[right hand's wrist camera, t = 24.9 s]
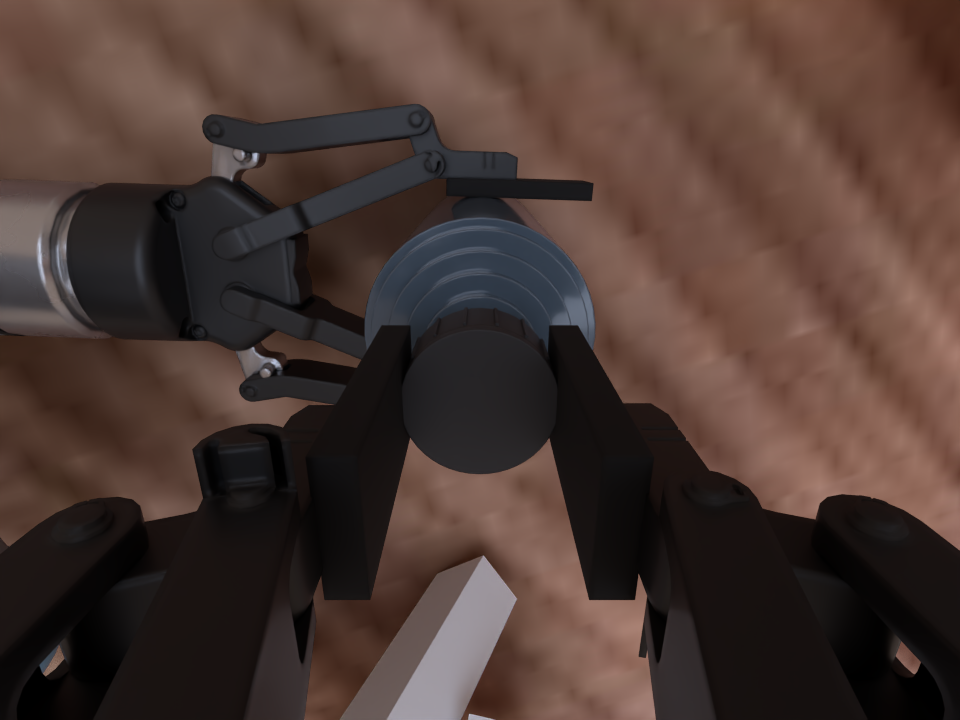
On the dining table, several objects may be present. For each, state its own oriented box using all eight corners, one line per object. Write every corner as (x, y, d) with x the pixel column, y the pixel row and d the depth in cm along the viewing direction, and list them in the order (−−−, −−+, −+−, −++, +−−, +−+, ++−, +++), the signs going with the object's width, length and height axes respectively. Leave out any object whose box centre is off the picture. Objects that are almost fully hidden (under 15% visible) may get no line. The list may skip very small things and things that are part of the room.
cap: (441, 456, 15) (437, 495, 13) (384, 337, 14) (370, 363, 12) (570, 411, 15) (582, 446, 13) (522, 284, 13) (529, 303, 12)
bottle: (468, 333, 34) (453, 561, 15) (393, 239, 32) (263, 364, 13) (565, 263, 33) (687, 418, 13) (492, 159, 31) (514, 166, 11)
